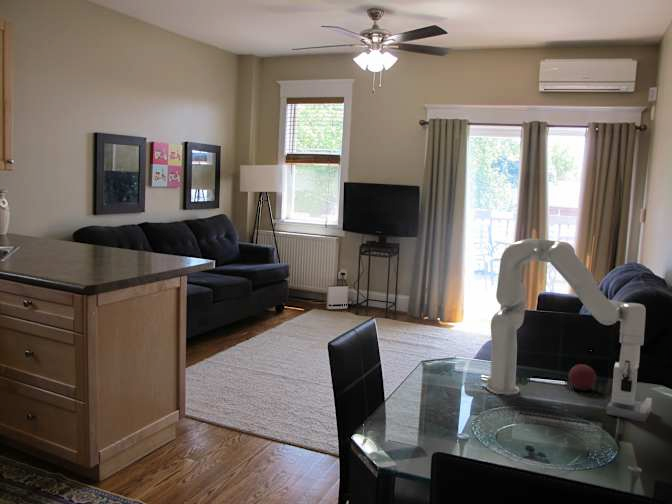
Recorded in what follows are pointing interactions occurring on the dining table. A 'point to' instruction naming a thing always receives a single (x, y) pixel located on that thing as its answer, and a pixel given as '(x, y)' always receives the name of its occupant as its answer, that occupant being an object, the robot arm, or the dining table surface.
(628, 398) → the supplement box
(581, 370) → the decorative ball
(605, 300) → the robot arm
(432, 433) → the dining table surface
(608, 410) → the stand plate
